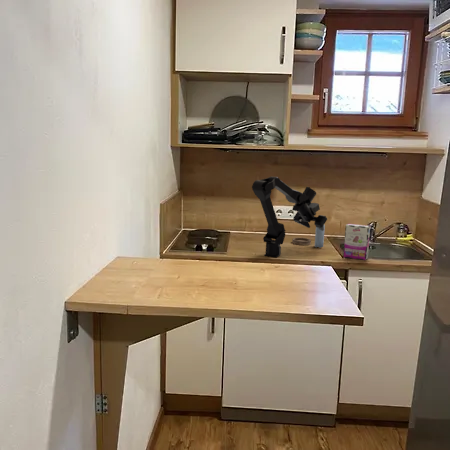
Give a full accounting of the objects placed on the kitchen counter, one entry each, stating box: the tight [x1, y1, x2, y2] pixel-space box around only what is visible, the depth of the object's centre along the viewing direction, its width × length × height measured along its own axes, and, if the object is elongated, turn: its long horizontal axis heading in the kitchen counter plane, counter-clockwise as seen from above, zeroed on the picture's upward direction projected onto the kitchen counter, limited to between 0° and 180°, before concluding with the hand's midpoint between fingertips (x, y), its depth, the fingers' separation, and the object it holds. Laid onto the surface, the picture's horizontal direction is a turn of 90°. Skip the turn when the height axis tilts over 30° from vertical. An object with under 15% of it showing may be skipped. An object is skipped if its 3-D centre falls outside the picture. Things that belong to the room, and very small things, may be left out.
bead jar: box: [314, 223, 326, 249], centre depth 251 cm, size 5×5×13 cm
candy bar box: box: [342, 223, 371, 261], centre depth 229 cm, size 11×5×16 cm, turn 62°
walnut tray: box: [291, 237, 312, 246], centre depth 259 cm, size 10×10×2 cm
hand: (316, 228), depth 248 cm, fingers open, 9 cm apart
